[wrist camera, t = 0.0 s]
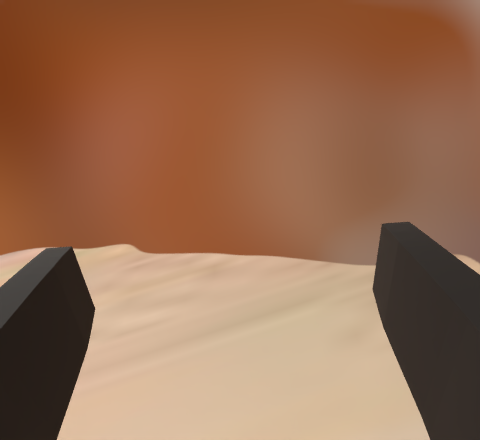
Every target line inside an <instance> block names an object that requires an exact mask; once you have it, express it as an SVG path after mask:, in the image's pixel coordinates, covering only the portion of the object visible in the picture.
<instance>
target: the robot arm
mask: <svg viewBox="0 0 480 440" xmlns="http://www.w3.org/2000/svg"><path fill="white" fill-rule="evenodd" d="M373 292H374V296H375V299H376V303H377V307H378V311H379V314H380V317H381V321H382V324H383V327H384V330H385V332H386V335H387V337H388V339H389V342H390V344H391V347H392V349H393V351H394V354H395V356H396V358H397V361H398V363H399V365H400V368H401V370H402V372H403V375H404V377H405V379H406V381H407V384H408V386H409V388H410V391H411V393H412V395H413V398H414V400H415V402H416V405H417V407H418V409H419V412H420V414H421V416H422V419H423V421H424V424H425V427H426V429H427V432H428V434H429V437H430V440H480V275H479V274H478V273H477V272H475V271H474V270H473V269H471V268H470V267H468V266H467V265H466V264H464V263H463V262H462V261H460V260H459V259H458V258H456V257H455V256H454V255H452V254H451V253H450V252H448V251H447V250H446V249H444V248H443V247H442V246H440V245H439V244H438V243H437V242H435V241H434V240H432V239H431V238H430V237H429V236H427V235H426V234H425V233H423V232H422V231H421V230H419V229H418V228H417V227H415V226H414V225H413V224H411V223H410V222H400V223H386V224H382V227H381V235H380V242H379V248H378V255H377V263H376V269H375V276H374V283H373ZM94 312H95V307H94V304H93V302H92V299H91V296H90V294H89V291H88V288H87V286H86V283H85V280H84V277H83V275H82V272H81V269H80V267H79V264H78V261H77V259H76V256H75V253H74V251H73V248H72V247H59V248H46V249H45V250H44V251H42V252H41V253H40V254H38V255H37V256H36V257H35V258H34V259H32V260H31V261H30V262H29V263H28V264H26V265H25V266H24V267H23V268H22V269H21V270H20V271H18V272H17V273H16V274H15V275H14V276H13V277H12V278H10V279H9V280H8V281H7V282H6V283H5V284H4V285H2V286H1V287H0V440H57V437H58V434H59V431H60V428H61V425H62V422H63V419H64V416H65V414H66V411H67V408H68V405H69V402H70V399H71V396H72V393H73V390H74V387H75V384H76V381H77V379H78V376H79V373H80V370H81V367H82V364H83V361H84V357H85V354H86V351H87V348H88V343H89V339H90V334H91V329H92V323H93V318H94Z"/></svg>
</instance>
